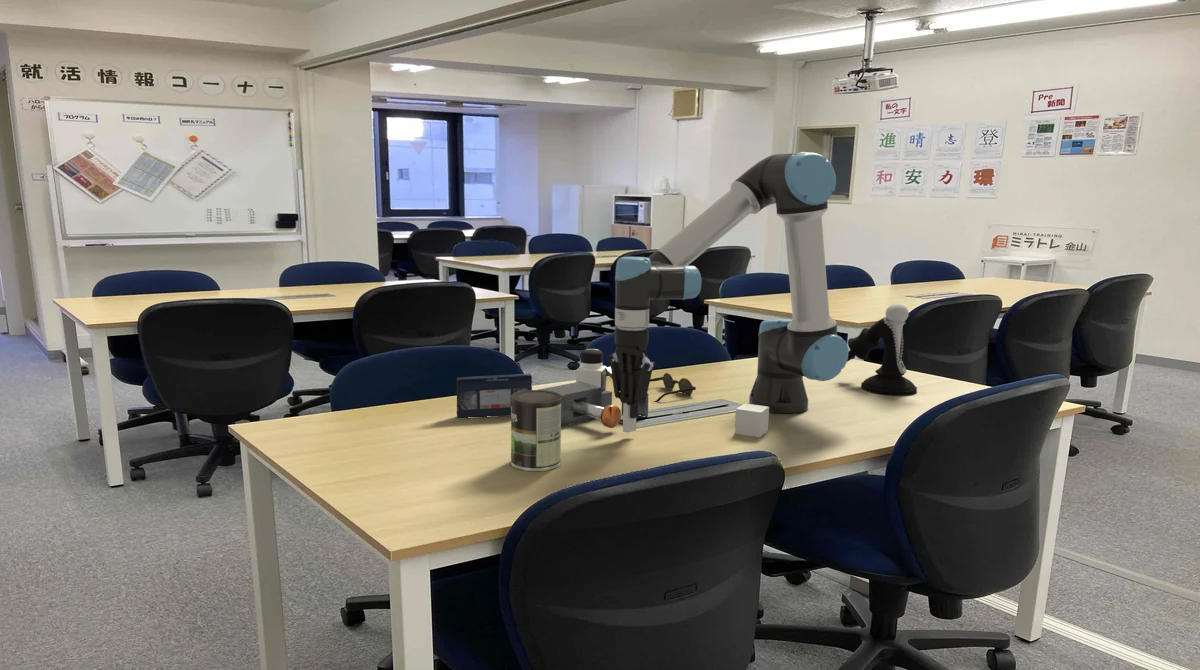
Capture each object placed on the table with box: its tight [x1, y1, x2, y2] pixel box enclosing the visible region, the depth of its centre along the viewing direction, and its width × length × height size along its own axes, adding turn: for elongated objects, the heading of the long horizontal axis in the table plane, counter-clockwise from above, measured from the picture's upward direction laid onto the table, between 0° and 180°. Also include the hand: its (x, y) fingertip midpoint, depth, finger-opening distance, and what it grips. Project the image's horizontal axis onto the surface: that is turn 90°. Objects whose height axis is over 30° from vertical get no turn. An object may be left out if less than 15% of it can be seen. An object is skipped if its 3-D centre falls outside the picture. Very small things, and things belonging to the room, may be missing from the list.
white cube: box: [734, 403, 770, 438], centre depth 190 cm, size 6×6×6 cm
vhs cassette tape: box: [455, 373, 533, 419], centre depth 200 cm, size 18×3×10 cm, turn 105°
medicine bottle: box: [575, 348, 607, 391], centre depth 224 cm, size 7×7×12 cm
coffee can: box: [510, 389, 562, 472], centre depth 165 cm, size 10×10×14 cm
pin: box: [573, 400, 622, 429], centre depth 192 cm, size 13×5×5 cm, turn 43°
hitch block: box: [537, 381, 602, 427], centre depth 198 cm, size 8×14×8 cm, turn 133°
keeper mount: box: [601, 390, 649, 417], centre depth 204 cm, size 14×6×6 cm, turn 43°
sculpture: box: [847, 303, 918, 397], centre depth 236 cm, size 15×24×25 cm, turn 45°
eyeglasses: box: [650, 372, 697, 403], centre depth 224 cm, size 15×15×5 cm
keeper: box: [604, 366, 612, 379], centre depth 203 cm, size 12×3×2 cm, turn 43°
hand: (629, 430), depth 184 cm, fingers closed
